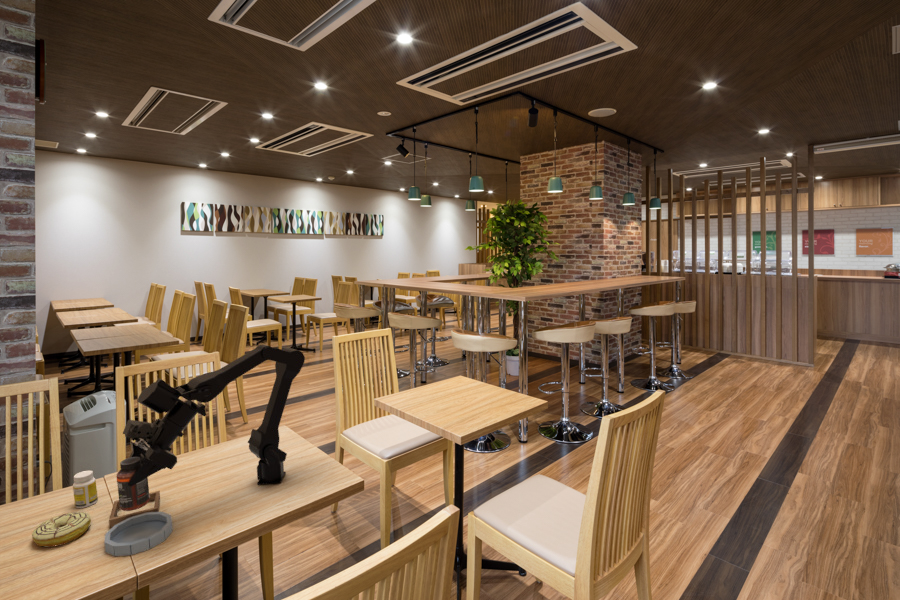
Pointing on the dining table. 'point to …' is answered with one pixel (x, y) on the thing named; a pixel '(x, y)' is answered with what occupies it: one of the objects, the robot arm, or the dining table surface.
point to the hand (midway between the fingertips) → (125, 481)
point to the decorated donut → (61, 529)
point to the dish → (138, 533)
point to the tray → (115, 520)
